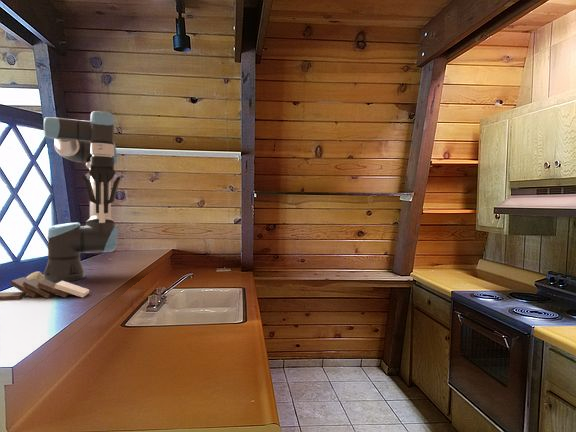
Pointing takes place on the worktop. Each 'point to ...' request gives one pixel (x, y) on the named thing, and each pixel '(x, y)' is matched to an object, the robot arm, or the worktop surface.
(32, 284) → the domino
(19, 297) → the domino
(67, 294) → the domino
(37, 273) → the seashell
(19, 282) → the domino
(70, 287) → the domino
